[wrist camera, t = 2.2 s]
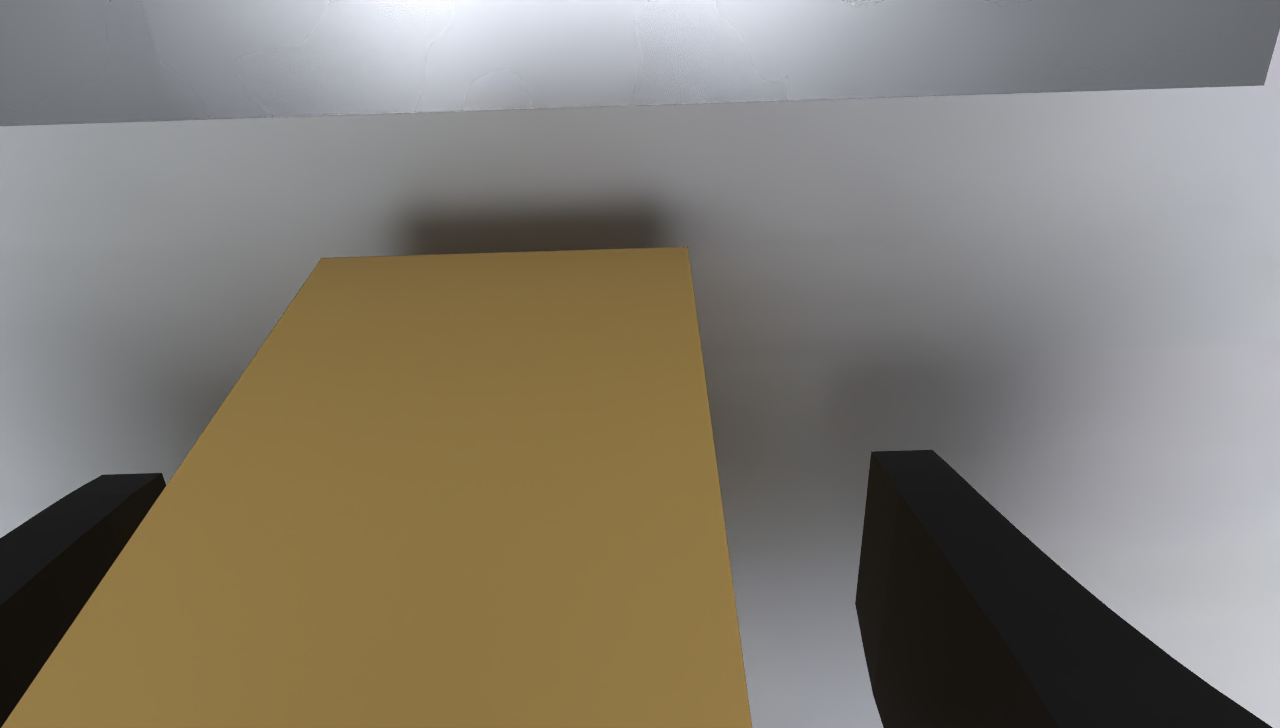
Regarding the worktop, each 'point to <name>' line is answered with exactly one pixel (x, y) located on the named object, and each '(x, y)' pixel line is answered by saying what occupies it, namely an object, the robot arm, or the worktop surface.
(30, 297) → the worktop surface
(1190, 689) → the robot arm
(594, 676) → the tan rectangular block
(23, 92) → the recessed gray tray
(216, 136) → the worktop surface
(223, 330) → the worktop surface
